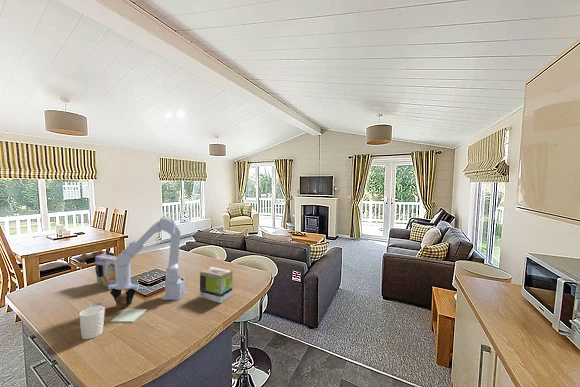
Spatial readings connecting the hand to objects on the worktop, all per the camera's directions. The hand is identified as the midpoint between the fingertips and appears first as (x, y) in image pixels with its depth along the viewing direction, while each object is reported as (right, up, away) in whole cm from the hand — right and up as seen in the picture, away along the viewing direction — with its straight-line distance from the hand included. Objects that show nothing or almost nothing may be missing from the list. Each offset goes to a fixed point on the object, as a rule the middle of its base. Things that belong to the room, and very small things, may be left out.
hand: (124, 303), depth 118 cm
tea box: (+43, -2, +11) cm, 45 cm away
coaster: (+9, -2, -9) cm, 12 cm away
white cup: (+3, -3, -22) cm, 22 cm away
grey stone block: (-9, -2, -7) cm, 12 cm away
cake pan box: (-26, 0, +23) cm, 35 cm away
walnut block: (0, -2, 0) cm, 2 cm away
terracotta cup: (-4, -2, -10) cm, 11 cm away
